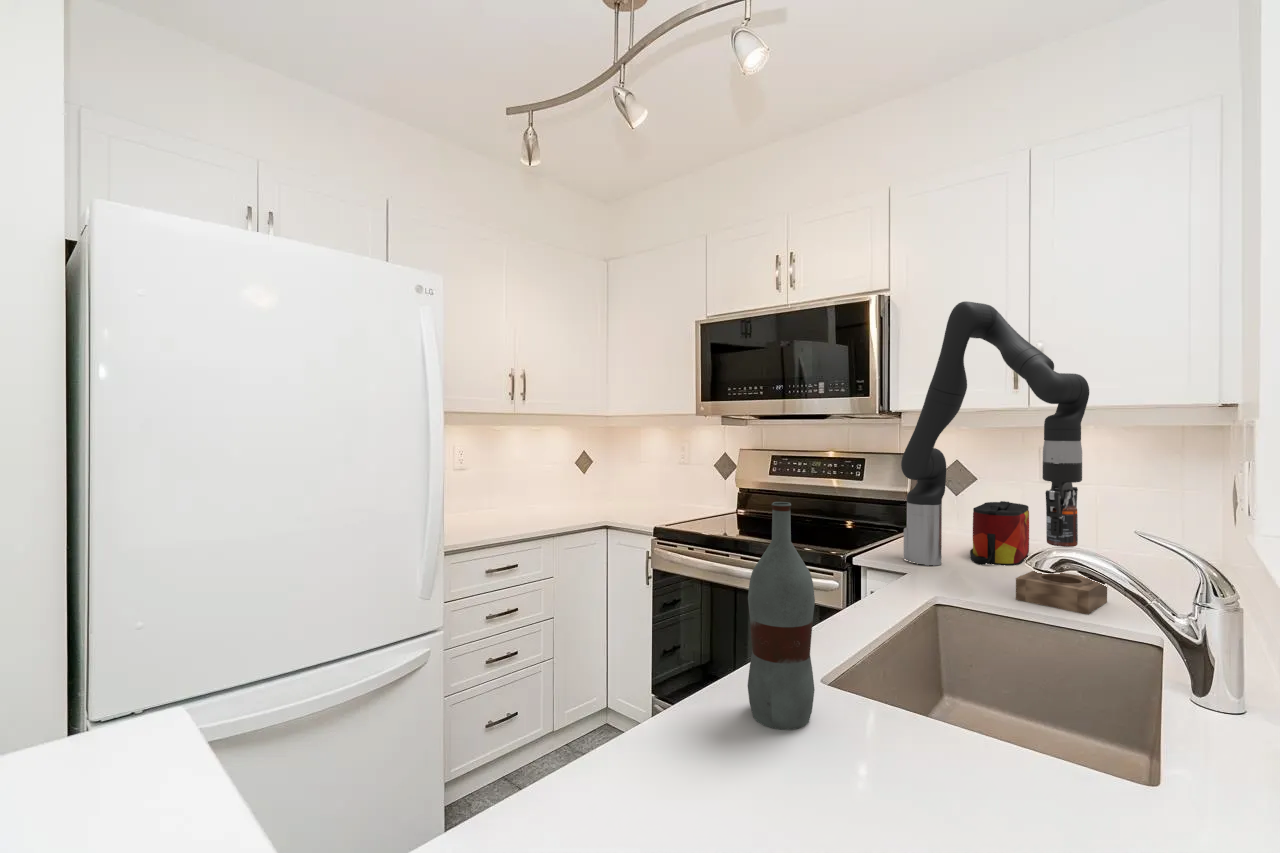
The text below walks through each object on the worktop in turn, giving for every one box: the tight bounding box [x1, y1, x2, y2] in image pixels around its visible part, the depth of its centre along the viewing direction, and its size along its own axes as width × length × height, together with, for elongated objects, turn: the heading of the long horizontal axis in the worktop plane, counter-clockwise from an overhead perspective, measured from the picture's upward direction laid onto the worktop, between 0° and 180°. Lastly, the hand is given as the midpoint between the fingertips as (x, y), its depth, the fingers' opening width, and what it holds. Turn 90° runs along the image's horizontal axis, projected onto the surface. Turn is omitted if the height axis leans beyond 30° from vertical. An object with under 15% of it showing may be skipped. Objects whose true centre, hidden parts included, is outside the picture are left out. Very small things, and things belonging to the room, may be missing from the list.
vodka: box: [747, 501, 816, 731], centre depth 87 cm, size 9×9×30 cm
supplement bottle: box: [1045, 496, 1079, 548], centre depth 142 cm, size 6×6×11 cm
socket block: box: [1015, 570, 1108, 615], centre depth 142 cm, size 14×14×5 cm
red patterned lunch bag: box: [969, 500, 1030, 567], centre depth 186 cm, size 30×14×16 cm, turn 139°
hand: (1061, 533), depth 142 cm, fingers closed on supplement bottle, 6 cm apart
